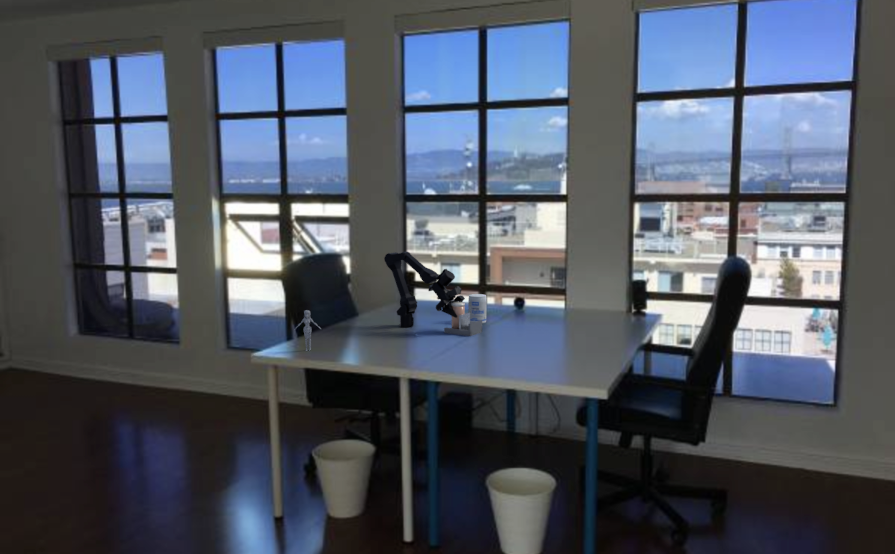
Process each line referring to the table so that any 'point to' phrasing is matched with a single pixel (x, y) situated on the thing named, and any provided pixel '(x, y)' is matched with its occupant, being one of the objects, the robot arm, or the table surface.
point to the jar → (457, 313)
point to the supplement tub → (477, 307)
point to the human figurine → (307, 327)
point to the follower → (464, 321)
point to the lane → (473, 330)
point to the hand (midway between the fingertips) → (460, 316)
